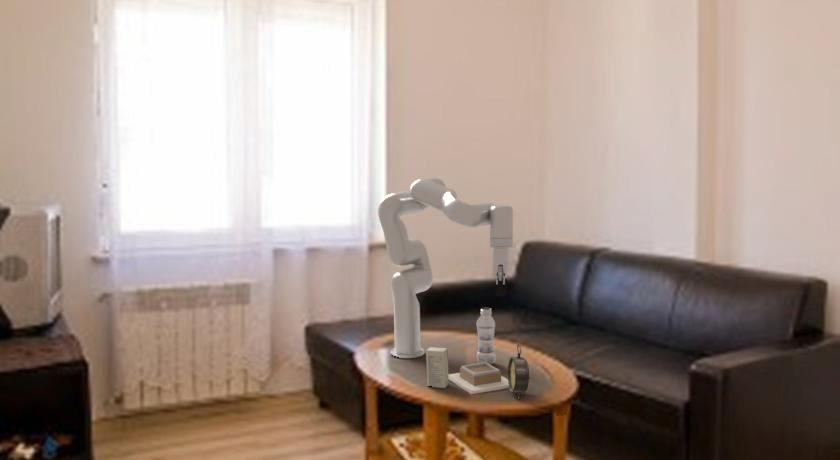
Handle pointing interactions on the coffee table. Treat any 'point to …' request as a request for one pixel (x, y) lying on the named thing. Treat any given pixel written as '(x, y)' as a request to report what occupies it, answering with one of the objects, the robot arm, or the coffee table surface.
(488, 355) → the plastic bottle
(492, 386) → the display base
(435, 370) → the skincare box
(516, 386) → the alarm clock
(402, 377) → the coffee table surface
